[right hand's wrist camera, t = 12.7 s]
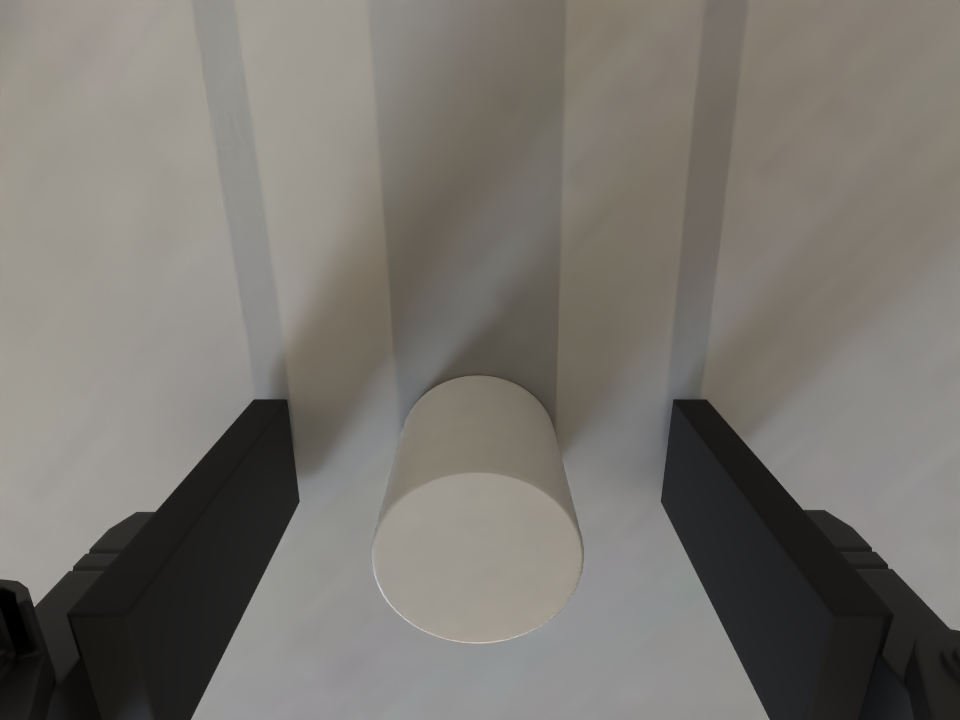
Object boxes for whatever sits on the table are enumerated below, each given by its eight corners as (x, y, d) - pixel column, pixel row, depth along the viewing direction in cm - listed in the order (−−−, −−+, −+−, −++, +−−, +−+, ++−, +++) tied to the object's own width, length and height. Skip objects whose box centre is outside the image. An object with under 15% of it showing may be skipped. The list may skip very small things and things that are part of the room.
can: (370, 420, 14) (327, 530, 10) (507, 346, 13) (519, 432, 9) (451, 534, 15) (441, 672, 11) (582, 470, 14) (620, 593, 10)
